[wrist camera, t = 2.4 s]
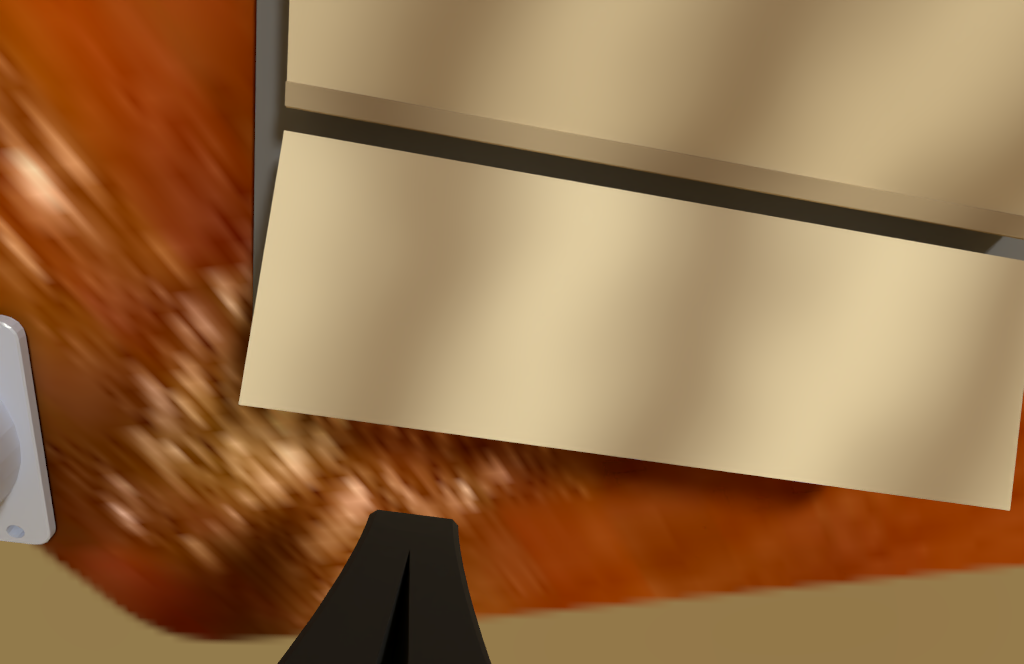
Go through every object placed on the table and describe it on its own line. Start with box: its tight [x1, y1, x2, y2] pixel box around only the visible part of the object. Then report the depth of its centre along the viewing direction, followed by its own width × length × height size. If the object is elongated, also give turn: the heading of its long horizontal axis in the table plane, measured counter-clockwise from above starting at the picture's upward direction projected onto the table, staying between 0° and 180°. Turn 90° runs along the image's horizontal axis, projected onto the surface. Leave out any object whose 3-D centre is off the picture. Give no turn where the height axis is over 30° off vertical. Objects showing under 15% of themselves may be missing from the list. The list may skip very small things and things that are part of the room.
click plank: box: [239, 130, 1024, 511], centre depth 17 cm, size 18×6×1 cm, turn 80°
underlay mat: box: [253, 0, 1024, 314], centre depth 17 cm, size 20×16×1 cm
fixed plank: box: [285, 0, 1024, 240], centre depth 15 cm, size 18×6×1 cm, turn 80°
